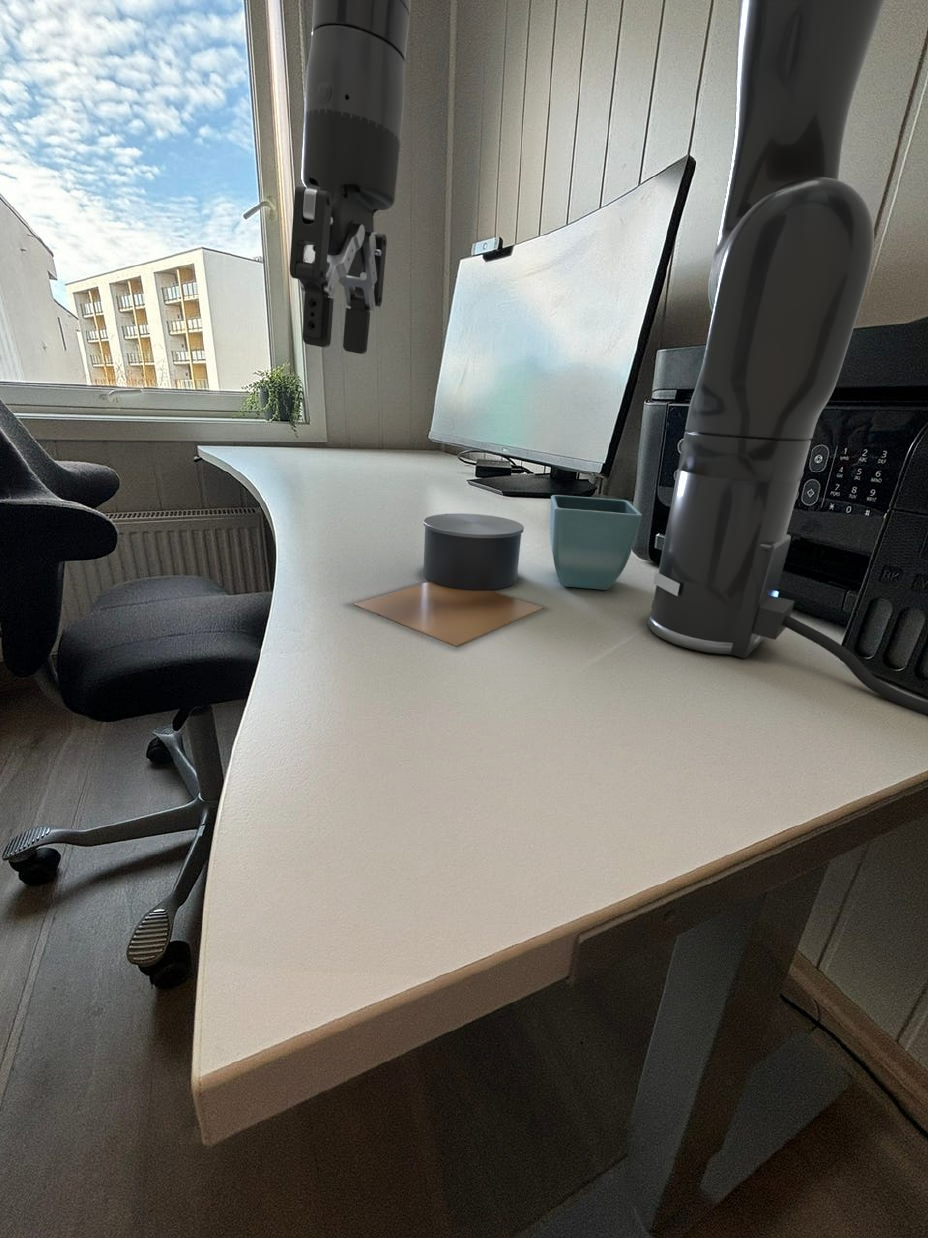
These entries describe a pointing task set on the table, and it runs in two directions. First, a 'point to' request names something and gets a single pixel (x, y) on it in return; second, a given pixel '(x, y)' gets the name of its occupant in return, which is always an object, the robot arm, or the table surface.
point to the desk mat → (449, 611)
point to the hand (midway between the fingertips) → (336, 349)
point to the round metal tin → (471, 551)
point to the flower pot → (591, 539)
